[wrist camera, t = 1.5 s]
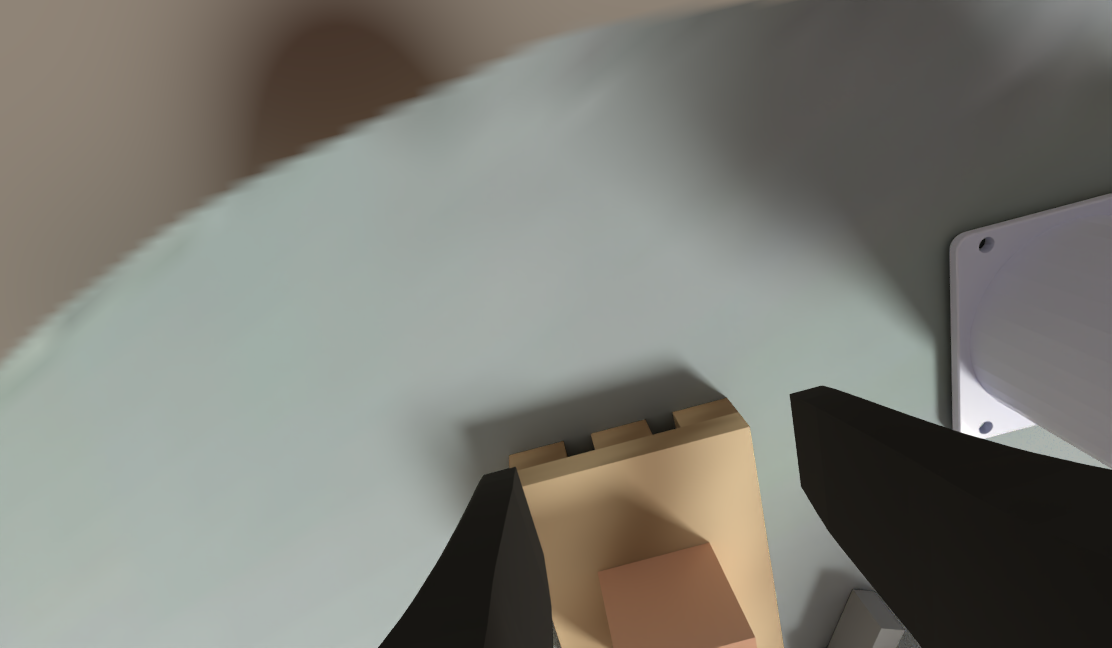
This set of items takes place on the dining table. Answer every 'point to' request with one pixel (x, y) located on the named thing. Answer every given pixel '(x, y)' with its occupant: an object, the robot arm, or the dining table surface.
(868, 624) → the dock
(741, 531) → the pallet
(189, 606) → the dining table surface
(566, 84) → the dining table surface
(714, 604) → the salmon pink cube
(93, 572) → the dining table surface
